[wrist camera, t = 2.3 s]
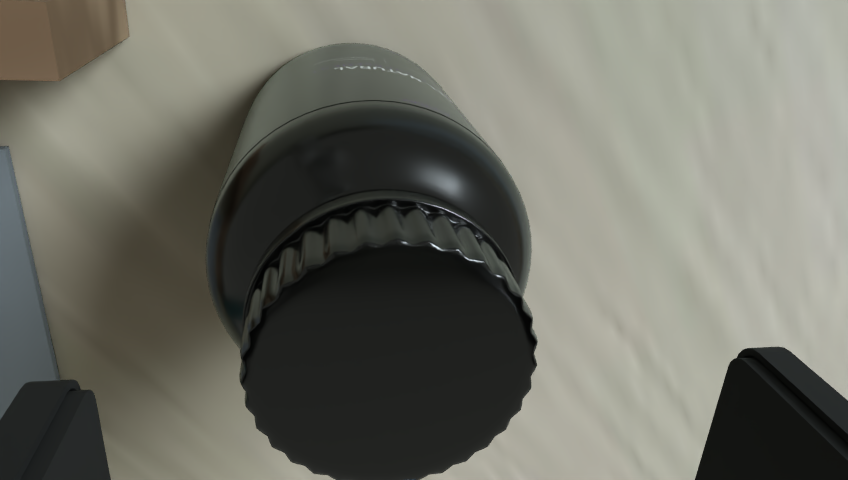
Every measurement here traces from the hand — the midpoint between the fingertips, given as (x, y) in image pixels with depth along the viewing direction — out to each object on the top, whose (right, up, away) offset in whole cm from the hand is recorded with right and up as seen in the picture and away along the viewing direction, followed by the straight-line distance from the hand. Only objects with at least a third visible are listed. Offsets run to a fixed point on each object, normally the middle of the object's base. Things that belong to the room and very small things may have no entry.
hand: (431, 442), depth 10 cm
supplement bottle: (-3, +6, +11) cm, 13 cm away
